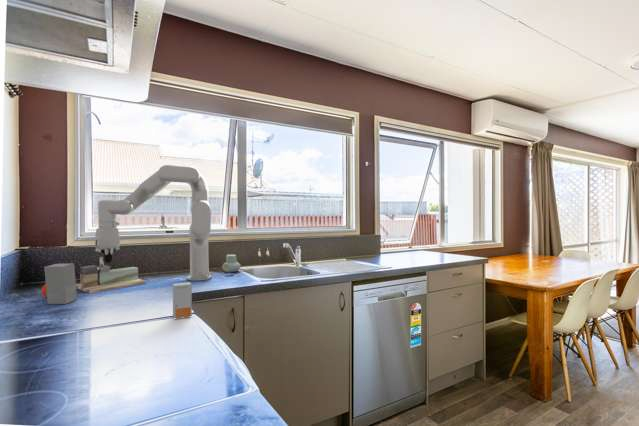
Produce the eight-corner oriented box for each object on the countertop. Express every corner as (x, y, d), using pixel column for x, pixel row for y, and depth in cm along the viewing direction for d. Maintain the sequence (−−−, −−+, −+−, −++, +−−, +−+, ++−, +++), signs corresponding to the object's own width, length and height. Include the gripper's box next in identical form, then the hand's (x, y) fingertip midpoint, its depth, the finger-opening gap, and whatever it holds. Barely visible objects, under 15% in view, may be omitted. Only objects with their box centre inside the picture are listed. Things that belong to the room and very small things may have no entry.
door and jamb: (145, 283, 179) (145, 262, 179) (90, 293, 160) (89, 269, 159) (129, 279, 190) (128, 258, 190) (75, 287, 171) (75, 265, 170)
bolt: (107, 270, 173) (107, 256, 172) (83, 274, 165) (83, 258, 164) (105, 270, 174) (105, 256, 174) (82, 273, 166) (82, 258, 166)
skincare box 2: (173, 320, 123) (173, 285, 122) (172, 316, 127) (172, 283, 126) (192, 317, 126) (191, 284, 125) (190, 314, 129) (190, 281, 129)
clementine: (60, 298, 151) (60, 282, 151) (40, 301, 147) (39, 284, 147) (62, 294, 158) (62, 278, 157) (43, 296, 154) (42, 280, 154)
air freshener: (242, 271, 212) (242, 255, 212) (231, 273, 205) (231, 256, 205) (231, 269, 219) (231, 253, 218) (220, 271, 212) (220, 255, 212)
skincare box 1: (77, 300, 148) (77, 262, 148) (63, 305, 141) (63, 265, 141) (59, 299, 149) (58, 262, 149) (44, 304, 142) (43, 265, 142)
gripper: (120, 224, 182) (120, 259, 182) (87, 225, 170) (88, 263, 170) (126, 224, 177) (127, 261, 177) (93, 226, 165) (94, 265, 166)
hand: (108, 262), depth 174 cm, fingers closed
